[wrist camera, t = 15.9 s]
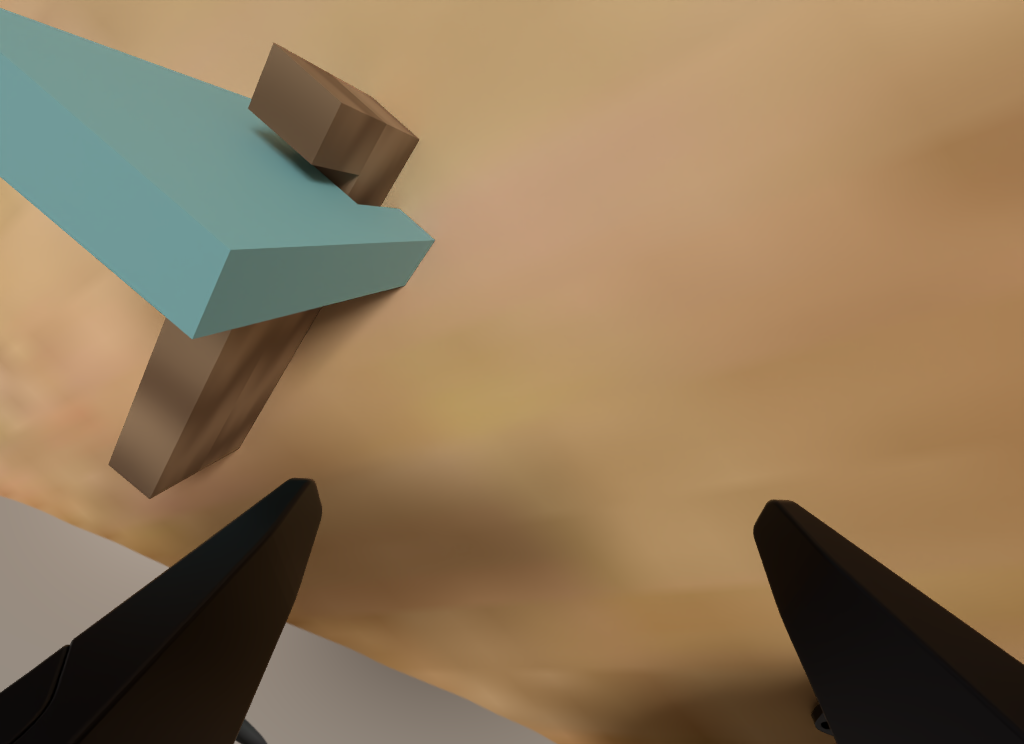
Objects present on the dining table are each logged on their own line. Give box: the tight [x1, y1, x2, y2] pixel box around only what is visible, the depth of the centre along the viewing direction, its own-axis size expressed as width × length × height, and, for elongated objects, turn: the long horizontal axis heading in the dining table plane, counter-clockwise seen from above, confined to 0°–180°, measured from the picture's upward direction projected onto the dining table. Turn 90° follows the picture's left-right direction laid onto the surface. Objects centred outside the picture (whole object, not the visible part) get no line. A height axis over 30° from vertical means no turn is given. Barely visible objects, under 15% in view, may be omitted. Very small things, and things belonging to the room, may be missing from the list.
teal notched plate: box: [0, 8, 435, 339], centre depth 13 cm, size 8×2×10 cm, turn 51°
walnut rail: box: [108, 43, 419, 499], centre depth 18 cm, size 20×2×5 cm, turn 141°
